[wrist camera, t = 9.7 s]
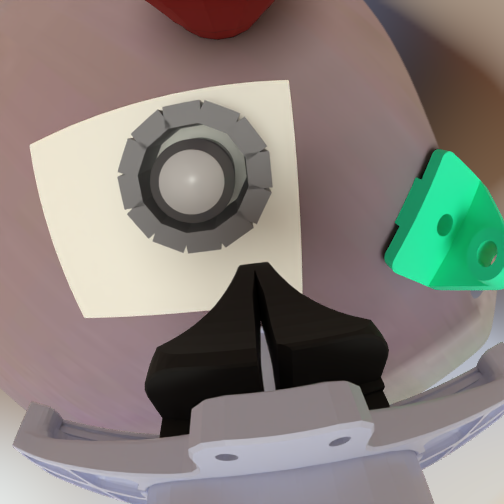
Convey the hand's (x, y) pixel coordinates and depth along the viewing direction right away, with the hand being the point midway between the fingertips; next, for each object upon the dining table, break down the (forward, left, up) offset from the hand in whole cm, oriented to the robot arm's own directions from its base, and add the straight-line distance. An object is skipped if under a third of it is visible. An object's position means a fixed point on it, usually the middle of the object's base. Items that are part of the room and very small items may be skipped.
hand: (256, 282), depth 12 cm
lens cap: (+4, +3, -9) cm, 10 cm away
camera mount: (-2, -18, -10) cm, 20 cm away
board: (+1, +7, -10) cm, 12 cm away
